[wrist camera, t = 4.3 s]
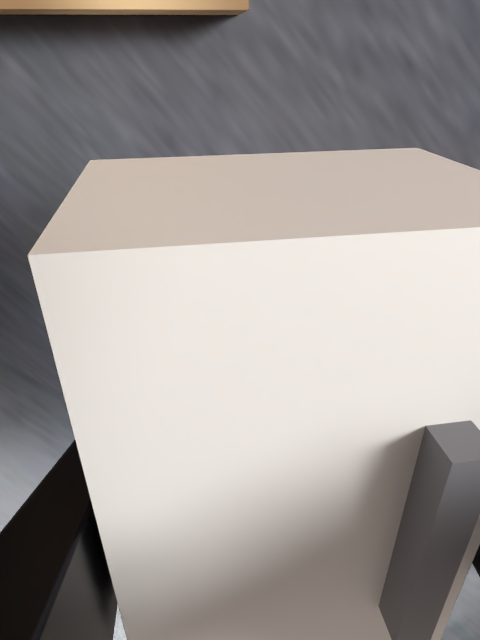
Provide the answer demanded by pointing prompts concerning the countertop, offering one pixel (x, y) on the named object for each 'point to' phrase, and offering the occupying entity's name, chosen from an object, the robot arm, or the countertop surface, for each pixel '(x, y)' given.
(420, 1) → the countertop surface
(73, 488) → the robot arm
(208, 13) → the wooden board
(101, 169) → the door
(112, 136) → the countertop surface
